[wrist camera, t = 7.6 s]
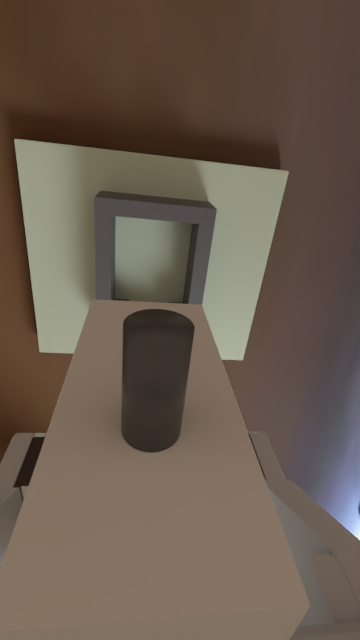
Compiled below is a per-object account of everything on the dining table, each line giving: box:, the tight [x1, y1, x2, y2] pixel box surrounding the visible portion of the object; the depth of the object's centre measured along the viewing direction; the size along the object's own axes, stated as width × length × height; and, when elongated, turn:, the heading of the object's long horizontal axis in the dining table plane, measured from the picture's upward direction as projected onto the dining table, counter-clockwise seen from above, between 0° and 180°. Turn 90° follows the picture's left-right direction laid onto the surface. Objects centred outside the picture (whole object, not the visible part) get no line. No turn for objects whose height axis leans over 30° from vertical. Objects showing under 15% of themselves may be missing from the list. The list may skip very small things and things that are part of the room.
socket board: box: [14, 139, 289, 360], centre depth 24 cm, size 18×16×4 cm
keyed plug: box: [0, 299, 310, 640], centre depth 9 cm, size 4×9×9 cm, turn 174°
